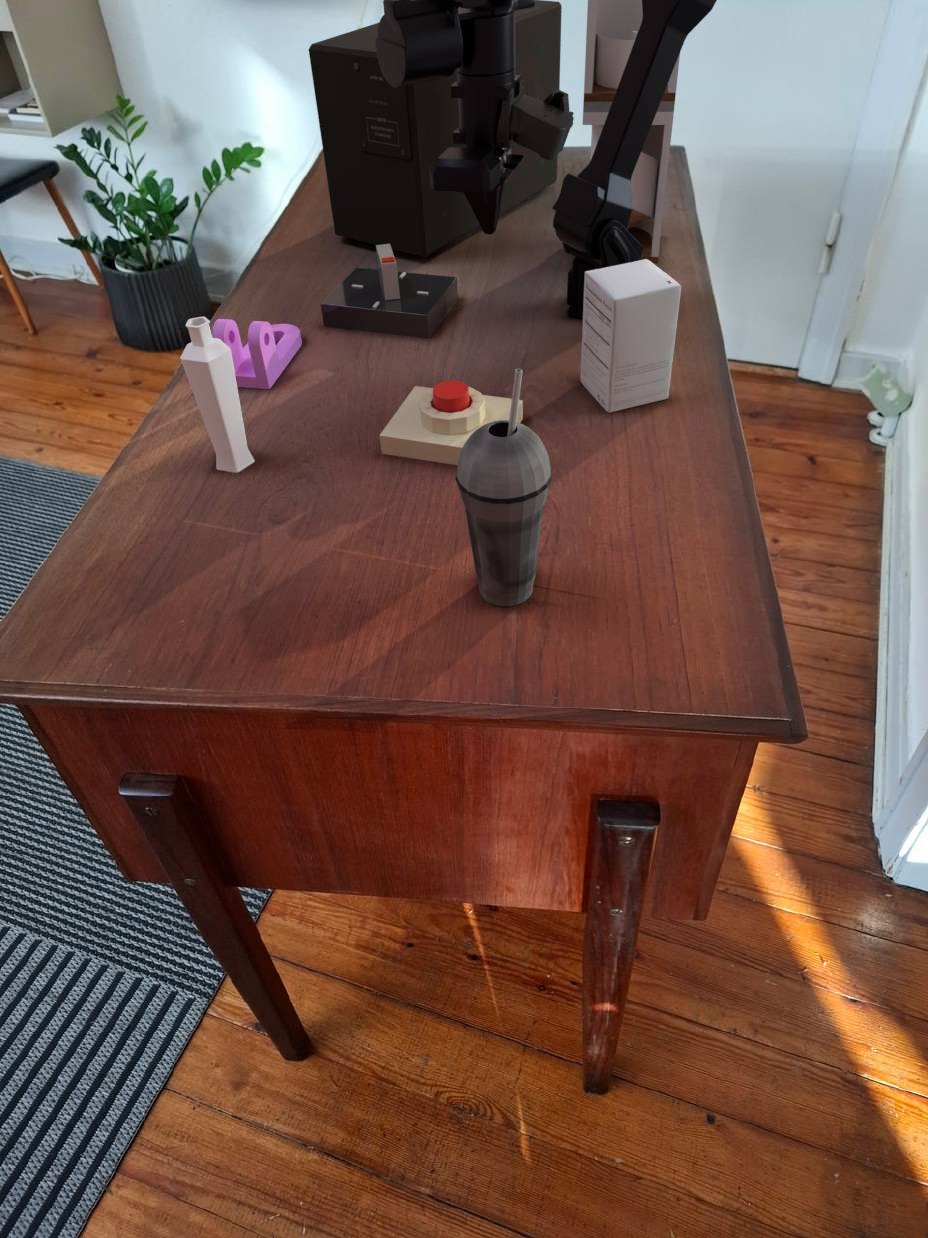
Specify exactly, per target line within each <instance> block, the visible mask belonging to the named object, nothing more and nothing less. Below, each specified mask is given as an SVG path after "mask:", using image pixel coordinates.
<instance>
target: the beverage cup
mask: <svg viewBox="0 0 928 1238" xmlns="http://www.w3.org/2000/svg"><path fill="white" fill-rule="evenodd" d="M522 379H523V369H522V368H515V369H514V378H513V386H512V394H511V399H512V402H511V410H510V418H509V420H499V421H494V422H490V423H488V424H485V425H483V426H482V427H480V428H479V429H477V430H476V431H474V432H473V433H472V434H471V436H470V437H469V438H468V440H467V441H466V443H465V444H464V446H463V447H462V450H461V452H460V456H459V462H458V465H457V467H456V472H455V481H456V484H457V486H458V490H459V493H460V497H461V500H462V503H463V505H464V509H465V515H466V521H467V529H468V533H469V540H470V546H471V553H472V559H473V565H474V570H475V577H476V579H477V583H478V588H479V593H480V595H481V597H482V598H483V600H485V601H486V602H488V603H489V604H492V605H493V606H497V607H513V606H518V605H520V604H522V603H524V602H526V601H527V600H528V599H529V598H530V597H531V595H532V594H533V591H534V590H533V589H534V584H535V579H536V573H537V565H538V557H539V548H540V540H541V532H542V524H543V515H544V507H545V503H546V501H547V499H548V498H547V497H548V494H549V490H550V484H551V482H552V480H553V470H552V466H551V463H550V457H549V453H548V451H547V447H545V445H544V443H543V441H542V439H541V438H540V437H539V435H538V434H536V433H535V432H534V431H533V430H532V429H531V428H530V427H528V426H527V425H525V424H523V423H518V422H516V420H517V412H518V404H519V400H520V395H521V387H522Z"/></svg>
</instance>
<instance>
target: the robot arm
mask: <svg viewBox="0 0 928 1238" xmlns="http://www.w3.org/2000/svg"><path fill="white" fill-rule="evenodd" d="M717 1H718V0H642V12H643V18H642V22H641V26H640V28H639V31H638V34H637V36H636V39H635V42H634V45H633V47H632V50H631V53H630V55H629V58H628V61H627V64H626V66H625V69H624V72H623V75H622V77H621V80H620V83H619V85H618V88H617V91H616V94H615V96H614V99H613V102H612V105H611V107H610V110H609V113H608V115H607V118H606V121H605V124H604V126H603V129H602V132H601V134H600V137H599V140H598V143H597V145H596V148H595V151H594V154H593V156H592V159H591V161H590V160H589V163H588V164H587V166H585V168H584V169H583V170H581V172H579V173H578V174H577V175H575V174H572V173H569V172H568V173H566V174H565V177H564V178H563V180H562V183H561V184H562V185H561V189H560V193H559V196H558V197H557V200H556V202H554V204H553V206H552V210H553V211H555V212H554V214H553V215H554V216H553V222H552V228H553V229H554V232H555V235H556V237H557V239H558V240H559V241H560V242H561V243H562V247H563V251H564V253H565V254H568V255H571V256H573V257H574V258H573V260H572V266H571V267H570V269H569V270H568V272H567V283H566V284H567V285H566V305H567V306H569V307H568V309H567V312H566V315H567V316H568V317H572V318H582V319H583V302H584V277H585V271H590V270H595V269H601V268H605V267H610V266H615V265H620V264H625V263H630V262H635V261H639V260H640V258H641V255H642V252H643V246H642V245H641V244H640V243H639V242H638V241H637V240H636V239H635V238H634V237H633V235H632V234H631V233H630V232H629V231H628V230H627V227H628V223H629V220H630V216H631V212H632V195H631V177H632V174H633V172H634V169H635V166H636V164H637V161H638V159H639V156H640V154H641V151H642V149H643V146H644V143H645V141H646V138H647V136H648V133H649V131H650V128H651V126H652V123H653V120H654V118H655V115H656V113H657V110H658V108H659V105H660V102H661V100H662V97H663V95H664V92H665V90H666V87H667V85H668V82H669V79H670V77H671V74H672V72H673V69H674V67H675V64H676V62H677V59H678V56H679V54H680V55H681V52H682V49H683V46H684V44H685V41H686V39H687V37H688V35H689V34H690V33H691V32H692V31H693V30H694V29H695V28H696V27H697V26H698V25H699V24H700V23H701V22H702V21H703V20H704V19H705V18H706V17H707V16H708V14H710V12H712V11H713V8H714V6H715V5H716V3H717ZM382 4H383V15H382V16H381V18H380V20H379V22H378V23H379V26H378V33H377V38H376V39H375V42H376V52H377V57H378V61H379V65H380V68H381V71H382V73H383V75H384V77H385V79H386V81H387V82H388V84H389V85H391V86H392V87H393V88H399V87H403V86H408V85H413V84H418V83H423V82H427V81H432V80H437V79H442V78H447V77H450V76H451V75H453V73H454V71H455V69H456V75H457V81H456V82H455V83H454V84H452V85H451V86H450V89H451V98H458V119H459V127H458V128H457V129H456V130H455V131H454V132H453V144H466V148H454V147H449V148H448V149H447V150H446V151H445V152H444V153H442V154H441V155H440V156H439V157H438V158H437V159H436V161H435V162H434V163H433V164H432V165H431V166H430V168H429V171H430V185H431V188H432V189H433V190H438V191H453V192H463V193H464V195H465V197H466V198H467V200H468V202H469V204H470V206H471V208H472V210H473V212H474V214H475V216H476V218H477V220H478V222H479V224H480V226H479V227H480V228H481V230H482V232H483V233H484V235H491V236H492V235H494V234H495V233H496V231H497V227H498V222H499V218H500V215H501V214H500V209H501V204H502V200H503V195H504V191H505V187H506V183H507V179H508V177H509V175H510V174H511V173H512V172H513V170H514V169H515V168H516V167H517V166H518V165H519V164H520V163H521V161H522V160H523V159H524V156H523V155H515V154H511V148H510V147H511V146H512V141H514V142H516V143H517V144H519V145H521V146H523V147H525V148H528V149H530V150H532V151H534V152H536V153H538V154H539V155H540V157H542V158H544V159H547V160H555V159H556V158H557V155H558V156H559V154H561V152H562V151H563V150H564V147H565V145H566V142H567V139H568V136H569V133H570V130H571V129H572V127H573V125H574V119H575V117H574V112H573V111H570V99H569V93H567V92H565V91H563V90H561V89H560V90H559V89H555V90H554V91H553V92H552V93H551V94H550V95H549V96H548V97H547V98H546V99H545V100H544V101H542V100H541V97H539V96H537V97H536V98H533V97H530V96H528V95H525V94H524V80H521V75H515V11H516V10H521V9H527V8H532V7H534V6H535V0H383V1H382Z"/></svg>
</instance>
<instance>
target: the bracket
mask: <svg viewBox="0 0 928 1238" xmlns="http://www.w3.org/2000/svg"><path fill="white" fill-rule="evenodd" d="M211 334H212V338H218V339H220V340H221V341H223V342H224V343H225V344H226V345H227V346H228V347H229V348H230V349H231V353H232V359H233V365H234V371H235V377H236V383H237V388H245V389H247V388H248V389H258V390H259V389H261V390H271V388H272V387H273V386H274V384H275V383H276V382H277V380H278V378H279V377H280V376H281V375H282V373H283V372H284V370H285V369H286V368H287V366H288V365H289V363H290V362H291V361H292V359H293V358H294V356H295V355H296V354H297V352H298V351H299V350H300V348H301V347H302V345H303V340H302V335H301V330H300V328H299V327H298V326H296V325H294V324H290V323H277V324H276V323H273V324H271V323H270V322H268V321H261V320H253V321H252V322H251V323H250V324H249V326H248V331H247V343H246V344H245V345H244V346H243V343H242V339H241V335H240V330H239V327H238V325H237V322H236V321H235V320H234V319H230V318H229V319H227V318H218V319H216V320H215V322H214V323H213V327H212V331H211Z"/></svg>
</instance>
